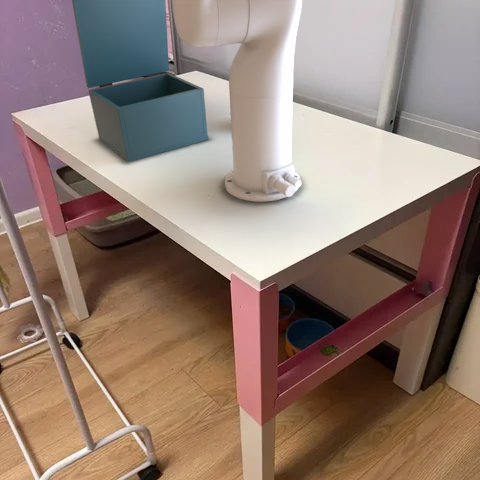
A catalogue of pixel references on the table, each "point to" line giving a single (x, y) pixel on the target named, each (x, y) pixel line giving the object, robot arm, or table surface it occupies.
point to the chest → (149, 115)
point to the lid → (121, 39)
